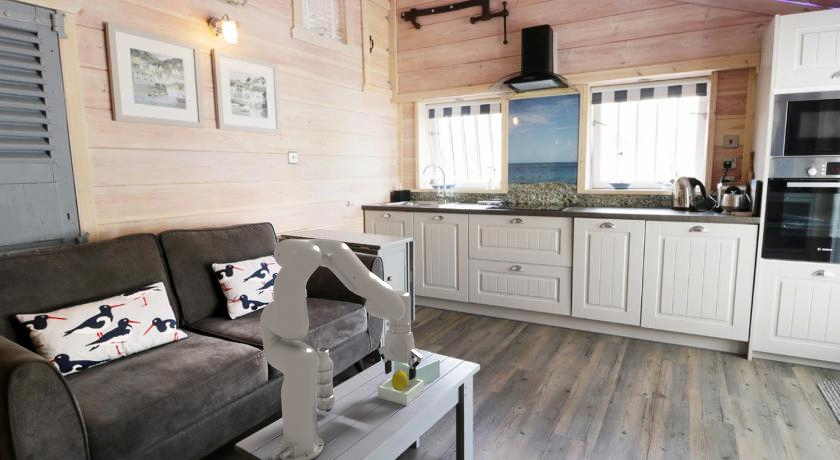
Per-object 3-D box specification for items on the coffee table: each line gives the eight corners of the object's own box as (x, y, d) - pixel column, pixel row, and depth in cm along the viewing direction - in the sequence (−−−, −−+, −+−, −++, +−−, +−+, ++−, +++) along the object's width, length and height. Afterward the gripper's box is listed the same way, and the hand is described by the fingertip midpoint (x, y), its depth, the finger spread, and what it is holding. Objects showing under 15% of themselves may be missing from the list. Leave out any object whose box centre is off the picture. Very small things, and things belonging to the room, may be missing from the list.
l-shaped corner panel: (439, 379, 169) (439, 359, 168) (416, 389, 161) (416, 369, 160) (417, 369, 177) (417, 351, 177) (394, 379, 169) (394, 360, 168)
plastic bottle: (338, 404, 151) (336, 346, 148) (329, 414, 144) (327, 354, 142) (321, 402, 152) (319, 345, 150) (311, 412, 146) (308, 352, 144)
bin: (406, 405, 149) (406, 394, 149) (378, 397, 155) (377, 386, 154) (424, 391, 159) (424, 380, 159) (396, 384, 165) (396, 373, 164)
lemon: (408, 388, 159) (408, 367, 159) (406, 396, 154) (406, 373, 153) (393, 388, 160) (392, 366, 159) (390, 395, 155) (390, 373, 154)
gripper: (372, 326, 155) (373, 374, 157) (416, 334, 147) (416, 385, 148) (385, 321, 162) (385, 367, 163) (427, 328, 153) (427, 377, 155)
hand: (400, 375), depth 156 cm, fingers open, 9 cm apart
